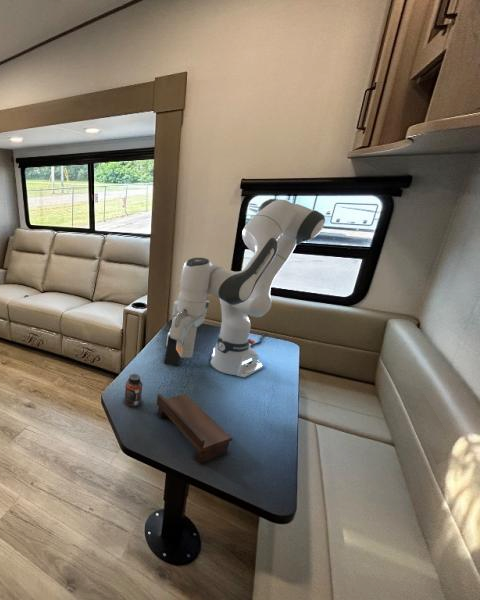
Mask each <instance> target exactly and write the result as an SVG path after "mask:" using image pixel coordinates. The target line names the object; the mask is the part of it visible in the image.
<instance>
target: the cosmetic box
mask: <svg viewBox="0 0 480 600" xmlns="http://www.w3.org/2000/svg"><path fill="white" fill-rule="evenodd" d="M197 330H198V327H196V326H195V324H194V325H193V326H191V327H190V331H189V334H188V335H187V336H185V337H184V339H183V342H184V346H182V347H181V348H180V347H178V346H177V345H176V350H177V351H178V353H179V355H180V359H186V358H187V359H188V358H189V359H191V358H193V355H194V349H195V342H196V335H197Z"/></svg>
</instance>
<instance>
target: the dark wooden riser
mask: <svg viewBox="0 0 480 600" xmlns="http://www.w3.org/2000/svg"><path fill="white" fill-rule="evenodd" d="M156 406H157V407H158V410H157V416H158V417H159V418H160V419H163V418H166V417H167V418H168V419H169V420H170V421H171V422H172V423H173V424H174V426H175V427H176V428H177V429H178V430H179V431H180V432H181V433H182V435H184V436H185V438H187V440H188V441H189V442H190V443H191V444H192V445H193V446H194V448H195V449H196V456H195V459H196V460H197V461H198V463H200V464H202V463H205V462H208V461H210V460H214V459H215V458H218V457H221V456H224V455H227V454H228V453H227V452H228V448H229V443H230V442H232V441H233V436H231V435H230V434H229V433H228V432H227V431H226V430H225V429H224V428H223V427H221V425H220V424H219V423H217V422H216V420H214V419H213V417H211V416H210V415H209V414H208V413H207V412H205V410H204V409H203V408H201V407H200V406H199V405H198V404H197V403H196V402H195V401H194V400H193V399H191V398H190V397H189V396H188V395H187V394H186V393H183V394H178V395H174V396H172V397H169V398H164V396H163V395H162V394H161V393H159V394H158V393H157V398H156Z"/></svg>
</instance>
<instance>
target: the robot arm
mask: <svg viewBox="0 0 480 600" xmlns="http://www.w3.org/2000/svg"><path fill="white" fill-rule="evenodd" d="M325 222H326V218H325V215H324V214H323V213H321V212H319V211H318V210H314V209H311V208H308V207H307V206H305V205H301V204H298V203H294V202H293V203H292V202H290V201H288V200H286V199H278V198H269V199H267V200H265V201H263V202H262V203H261V205H260V206H259V207H258V209H257V212H256V214H255V215H254V216H253V217H252V218H251V219H250V220H249V221H248V222H247V223H246V224H245V226H243V229H242V233H241V237H242V240H243V243H244V245H245V246H246V247H247V248H248V249H249V251H251V252H252V253H253V256H252V257H251V258H250V260H249V261H248V263H247V264H246V265H245V267H244V268H243V269H242V270H240V271H239V270H238V271H233V270H231V269H228V268H225V267H222V266H219V265H216V264H214V263H212V262H211V261H210V259H208V258H205V257H191V258H189V259H188V260H186V261H185V263H184V265H183V267H182V271H181V276H180V283H179V287H180V291H179V293H178V298H177V300H178V304H177V310H178V311H179V312H180V313H178V314H177V316H175V317H174V319H173V321H171V326H170V328H171V330H170V329H169V332H170V337H171V338H172V339H175V340H177V346H178V347H180V348H181V347H182V346H184V342H183V339H184V337H185V336H187V335H188V334H189V331H190V327H191V326H193V325H194V324H195V326H196V327H197V328H198V327H200V326H202V324H203V323H204V322H205V319H206V316H207V311H208V308H209V307H210V304H211V303H210V300H207V295H211V296H214V297H215V298H217V299H219V303H220V310H221V325H220V332H219V333H218V336H217V341H216V344H215V347H213V352H212V354H211V360H210V365H211V366H212V367H213V368H214V369H215V370H216V371H218V372H220V373H223V374H227V375H229V376H230V375H231V376H237V377H240V378H247V377H248V376H250V375H252V374H254V373H256V372H257V371H259V370H261V369H263V367H264V365H263V363H262V362H261V361H260V360H259V354H258V353H257V351H256V350H254V349H253V348H252V347H254V346H256V345H259V344H261V343H262V342H263V338H264V337H265V336H268V335H269V334H268V333H267V332H264V333H263V334H262V335H261V337H260V340H259V341H257V342H256V341H255V340H254V339H252V338H249V336H250V332H251V329H252V328H251V327H252V323H251V320H250V318H249V316H250V317H254V318H261V317H263V316H265V315H266V314H267V313H269V311H270V310H271V308H272V297H271V290H272V289H271V288H272V285H273V283H274V280H275V278H276V277H277V275H278V274H279V272H280V271H281V270H282V268H283V267H284V265H285V264H286V263H287V261H288V260H289V259H290V257H291V255H292V254H293V252H294V250H295V249H296V246H297V245H300V244H301V243H306V242H309V241H312V240H314V239H315V238H316V237H317V236H318V235H319V234H320V232H321V231H322V230H323V229H324V225H325Z"/></svg>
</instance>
